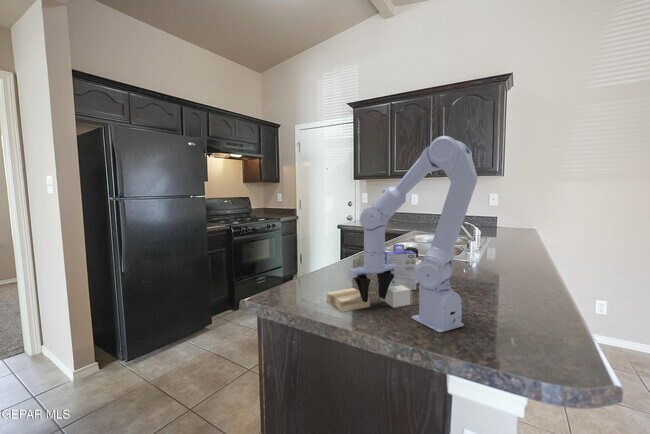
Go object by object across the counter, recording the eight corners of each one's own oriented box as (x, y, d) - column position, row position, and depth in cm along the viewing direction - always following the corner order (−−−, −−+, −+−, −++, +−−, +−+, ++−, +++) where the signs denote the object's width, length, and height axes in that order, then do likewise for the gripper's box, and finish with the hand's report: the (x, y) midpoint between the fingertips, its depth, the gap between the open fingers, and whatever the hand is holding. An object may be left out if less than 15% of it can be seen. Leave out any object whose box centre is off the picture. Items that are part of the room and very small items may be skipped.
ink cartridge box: (412, 285, 105) (412, 243, 104) (417, 290, 99) (417, 246, 98) (383, 285, 105) (383, 244, 104) (386, 291, 99) (386, 246, 98)
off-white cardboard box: (393, 308, 85) (412, 304, 86) (393, 291, 84) (412, 289, 86) (385, 302, 89) (403, 299, 91) (385, 287, 89) (403, 284, 90)
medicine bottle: (422, 279, 111) (422, 247, 111) (416, 284, 105) (416, 250, 105) (402, 277, 115) (402, 245, 114) (396, 281, 109) (396, 248, 108)
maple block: (369, 306, 85) (369, 296, 85) (341, 312, 82) (341, 301, 81) (353, 297, 94) (353, 287, 93) (326, 302, 90) (326, 292, 89)
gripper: (386, 246, 91) (385, 291, 92) (344, 251, 85) (344, 298, 86) (402, 250, 85) (401, 298, 86) (357, 255, 78) (357, 307, 80)
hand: (373, 299), depth 85 cm, fingers open, 5 cm apart
